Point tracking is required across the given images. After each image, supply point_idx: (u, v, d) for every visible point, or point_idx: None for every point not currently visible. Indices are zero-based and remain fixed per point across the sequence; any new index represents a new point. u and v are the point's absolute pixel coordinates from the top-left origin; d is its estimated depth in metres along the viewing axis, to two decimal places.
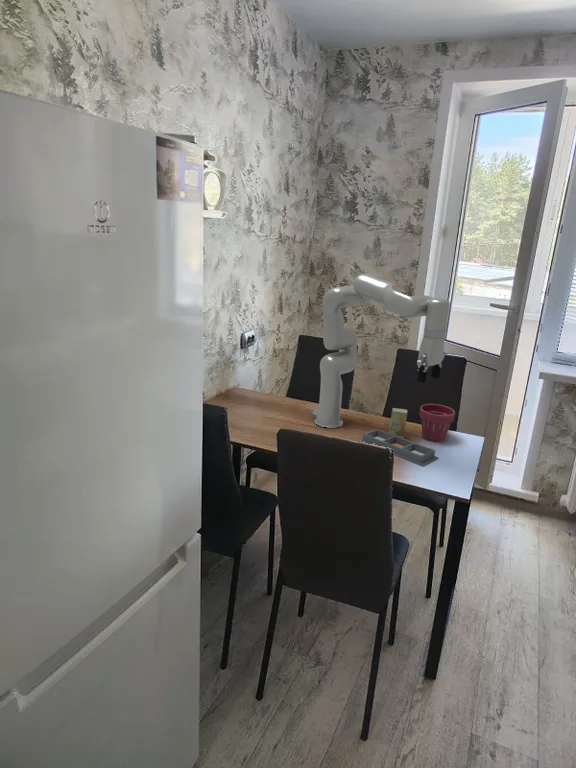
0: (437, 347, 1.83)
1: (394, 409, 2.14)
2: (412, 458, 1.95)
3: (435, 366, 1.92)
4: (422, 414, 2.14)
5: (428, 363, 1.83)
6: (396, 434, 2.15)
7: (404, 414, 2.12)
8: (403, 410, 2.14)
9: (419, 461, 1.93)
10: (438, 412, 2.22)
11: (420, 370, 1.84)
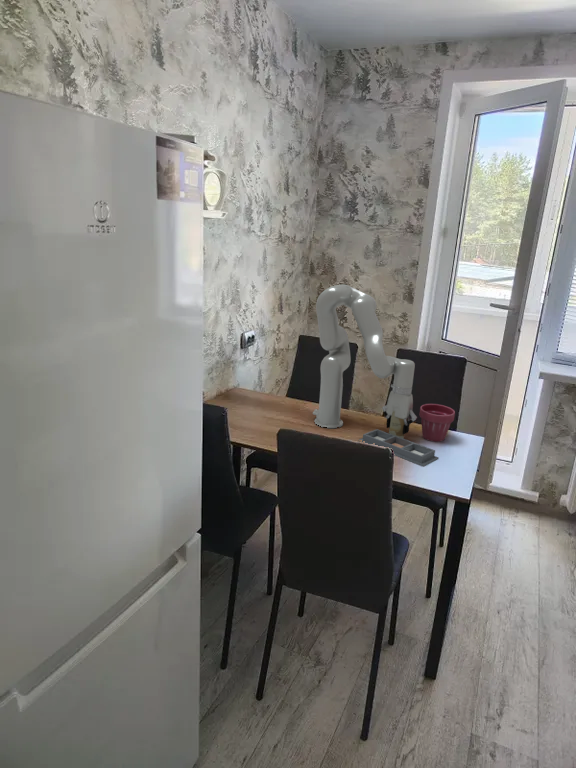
0: None
1: None
2: (412, 458, 1.95)
3: (390, 417, 2.17)
4: (422, 414, 2.14)
5: None
6: (396, 434, 2.15)
7: None
8: None
9: (419, 461, 1.93)
10: (438, 412, 2.22)
11: (409, 424, 2.11)
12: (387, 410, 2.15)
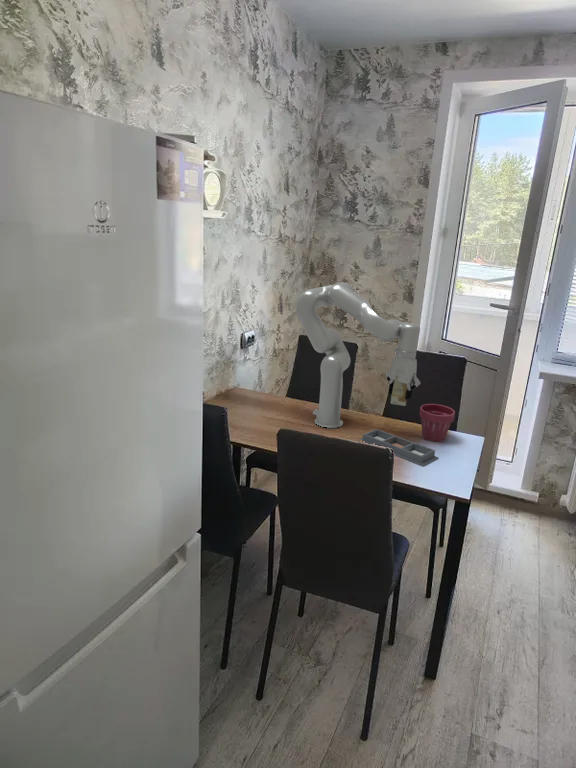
0: None
1: None
2: (412, 458, 1.95)
3: (392, 383, 2.13)
4: (422, 414, 2.14)
5: None
6: (398, 400, 2.11)
7: None
8: None
9: (419, 461, 1.93)
10: (438, 412, 2.22)
11: (412, 389, 2.07)
12: (390, 375, 2.11)
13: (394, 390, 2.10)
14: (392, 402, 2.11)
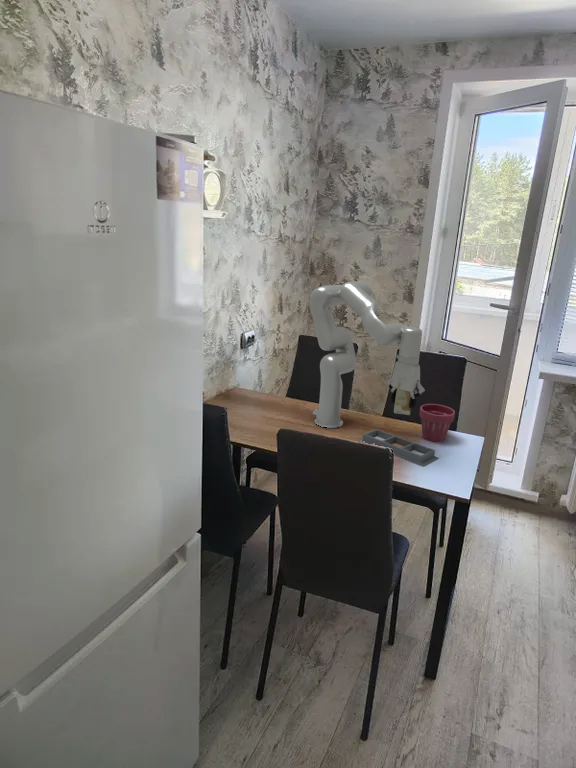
0: None
1: None
2: (412, 458, 1.95)
3: (395, 391, 2.01)
4: (422, 414, 2.14)
5: None
6: (402, 409, 1.98)
7: None
8: None
9: (419, 461, 1.93)
10: (438, 412, 2.22)
11: (416, 397, 1.95)
12: (392, 383, 1.98)
13: (397, 398, 1.97)
14: (395, 411, 1.99)
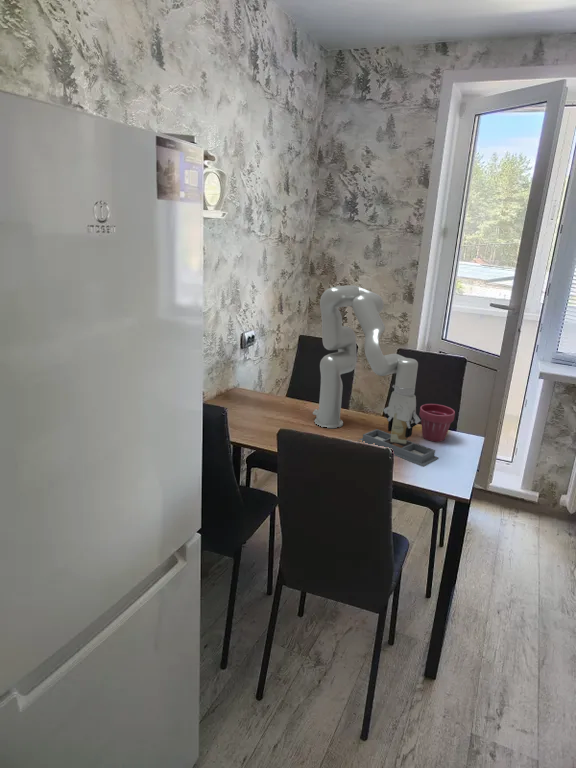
0: None
1: None
2: (412, 458, 1.95)
3: (391, 420, 2.04)
4: (422, 414, 2.14)
5: None
6: (398, 438, 2.01)
7: None
8: None
9: (419, 461, 1.93)
10: (438, 412, 2.22)
11: (412, 426, 1.98)
12: (389, 412, 2.02)
13: (393, 428, 2.01)
14: (392, 440, 2.02)
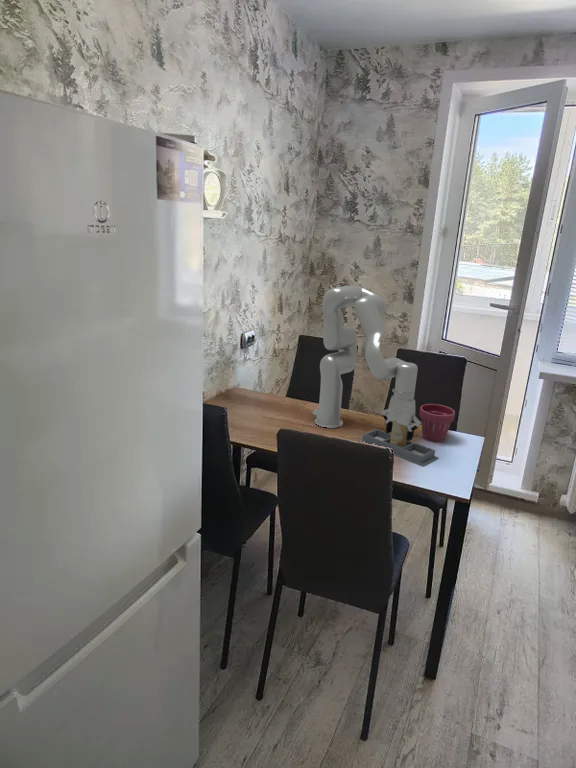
0: None
1: None
2: (412, 458, 1.95)
3: (389, 422, 2.05)
4: (422, 414, 2.14)
5: None
6: (398, 444, 2.02)
7: None
8: None
9: (419, 461, 1.93)
10: (438, 412, 2.22)
11: None
12: (388, 416, 2.02)
13: (393, 435, 2.01)
14: None
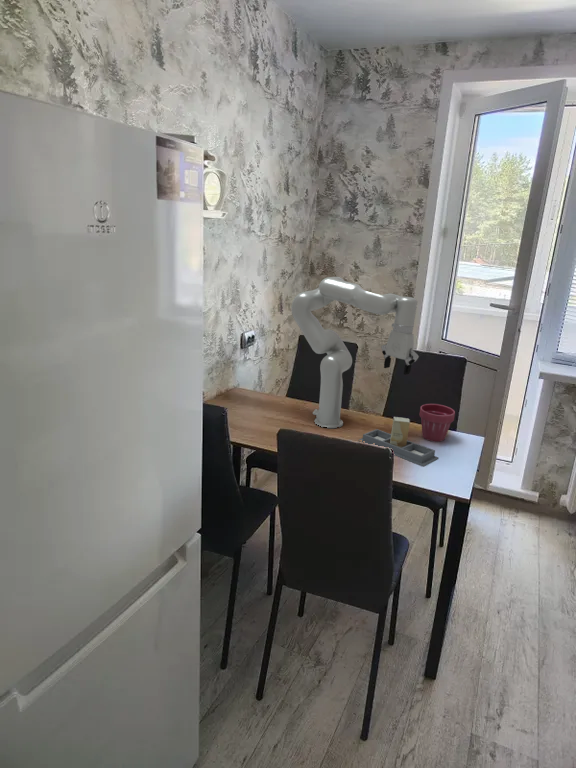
0: None
1: (396, 418, 2.02)
2: (412, 458, 1.95)
3: (388, 357, 2.09)
4: (422, 414, 2.14)
5: None
6: (398, 445, 2.02)
7: (407, 424, 1.99)
8: (405, 419, 2.01)
9: (419, 461, 1.93)
10: (438, 412, 2.22)
11: (411, 364, 2.02)
12: (387, 350, 2.06)
13: (393, 435, 2.01)
14: None
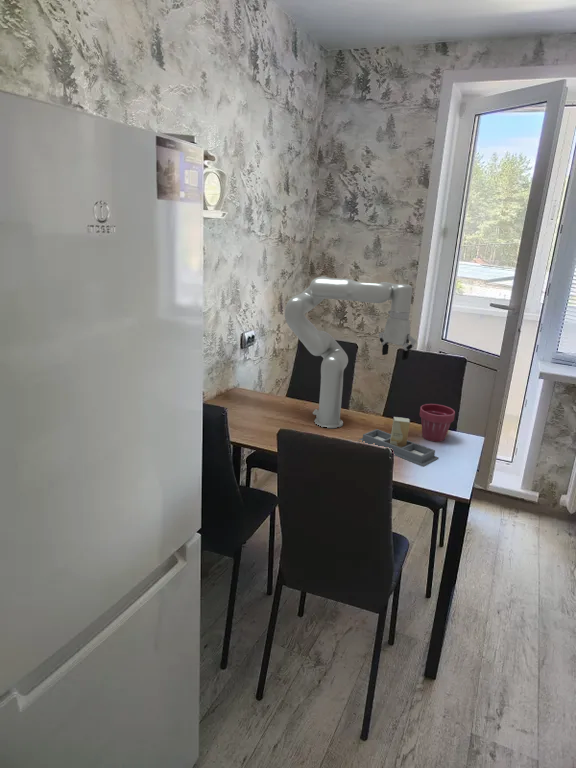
0: None
1: (396, 418, 2.02)
2: (412, 458, 1.95)
3: (385, 344, 2.14)
4: (422, 414, 2.14)
5: None
6: (398, 445, 2.02)
7: (407, 424, 1.99)
8: (405, 419, 2.01)
9: (419, 461, 1.93)
10: (438, 412, 2.22)
11: (409, 349, 2.07)
12: (384, 337, 2.11)
13: (393, 435, 2.01)
14: None
